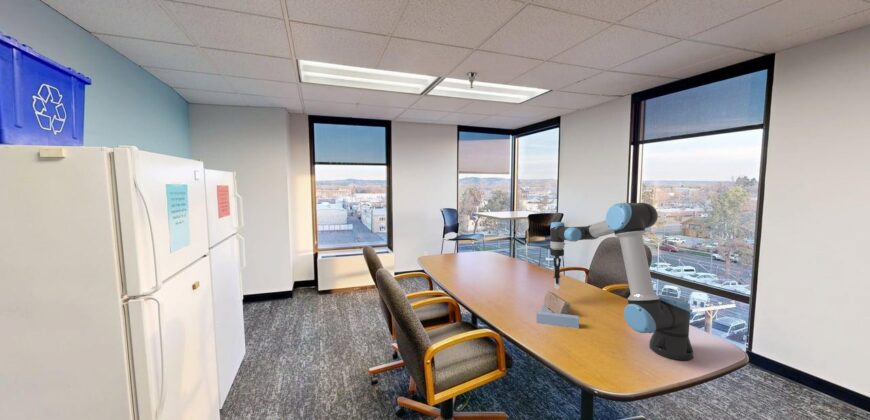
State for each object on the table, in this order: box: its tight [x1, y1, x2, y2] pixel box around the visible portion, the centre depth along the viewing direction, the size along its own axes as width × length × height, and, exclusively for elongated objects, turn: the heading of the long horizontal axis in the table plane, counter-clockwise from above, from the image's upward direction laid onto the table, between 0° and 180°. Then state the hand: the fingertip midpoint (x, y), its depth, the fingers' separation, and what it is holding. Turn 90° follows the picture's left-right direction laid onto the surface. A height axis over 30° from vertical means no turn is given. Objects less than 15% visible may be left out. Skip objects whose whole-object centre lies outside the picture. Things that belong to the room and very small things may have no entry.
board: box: [536, 305, 580, 329], centre depth 169 cm, size 12×20×5 cm, turn 71°
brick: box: [542, 290, 571, 315], centre depth 181 cm, size 16×8×5 cm
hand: (556, 288), depth 190 cm, fingers closed
